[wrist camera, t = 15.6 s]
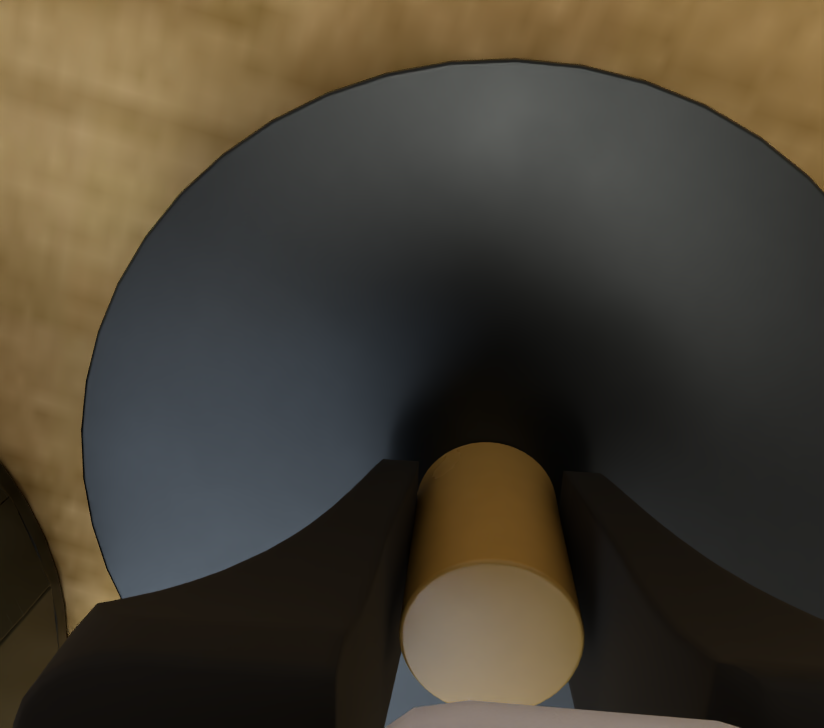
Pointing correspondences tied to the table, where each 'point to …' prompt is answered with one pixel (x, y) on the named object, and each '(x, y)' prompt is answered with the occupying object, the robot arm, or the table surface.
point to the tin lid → (472, 353)
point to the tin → (25, 601)
